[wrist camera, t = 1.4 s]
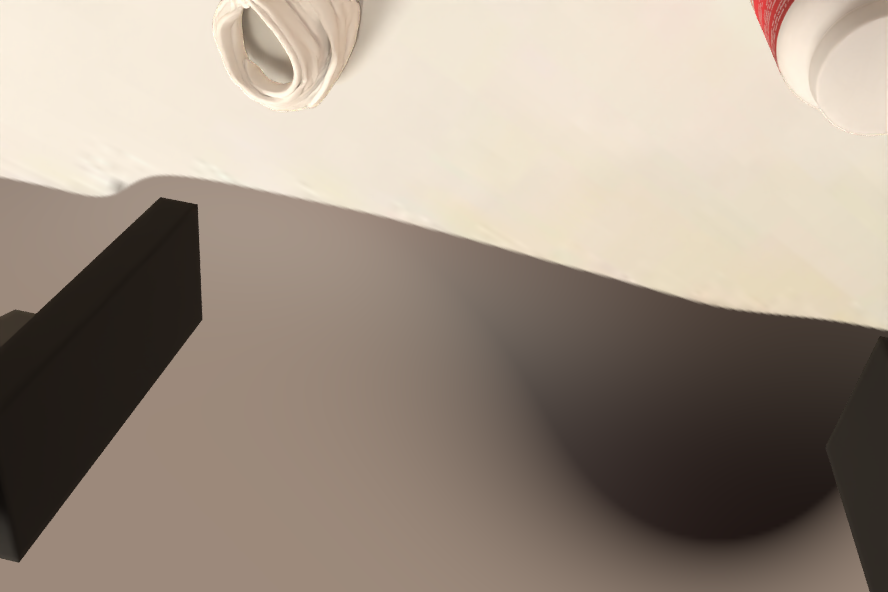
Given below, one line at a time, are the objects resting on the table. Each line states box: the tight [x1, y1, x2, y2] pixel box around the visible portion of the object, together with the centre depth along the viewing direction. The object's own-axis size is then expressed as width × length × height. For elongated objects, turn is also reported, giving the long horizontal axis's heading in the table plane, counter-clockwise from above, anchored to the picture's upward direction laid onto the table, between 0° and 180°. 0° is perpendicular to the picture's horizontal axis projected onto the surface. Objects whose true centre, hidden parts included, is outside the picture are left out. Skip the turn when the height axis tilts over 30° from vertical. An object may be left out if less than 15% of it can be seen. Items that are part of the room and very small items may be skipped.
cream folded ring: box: [212, 0, 360, 112], centre depth 41 cm, size 8×7×5 cm
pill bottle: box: [750, 0, 888, 136], centre depth 33 cm, size 6×6×11 cm
